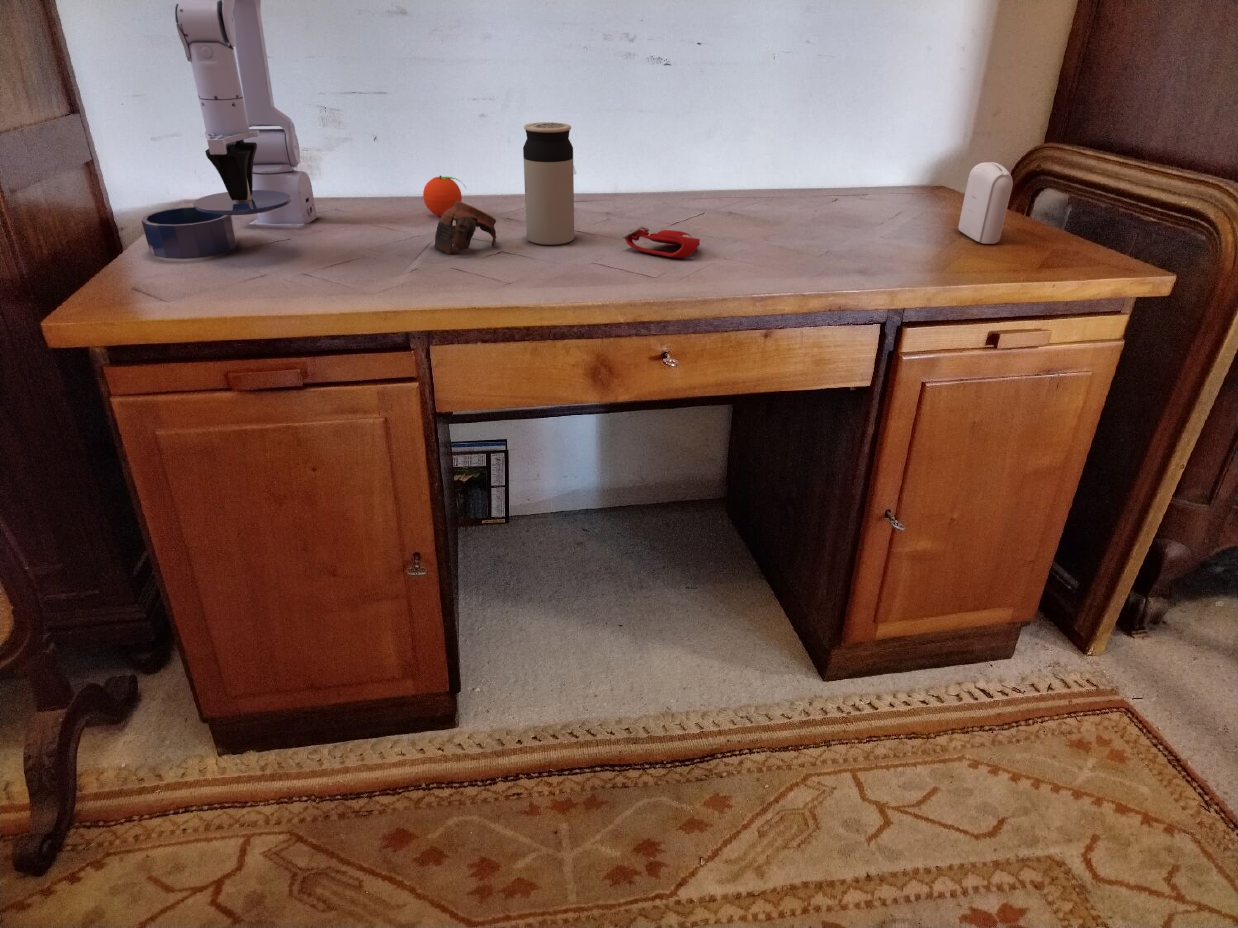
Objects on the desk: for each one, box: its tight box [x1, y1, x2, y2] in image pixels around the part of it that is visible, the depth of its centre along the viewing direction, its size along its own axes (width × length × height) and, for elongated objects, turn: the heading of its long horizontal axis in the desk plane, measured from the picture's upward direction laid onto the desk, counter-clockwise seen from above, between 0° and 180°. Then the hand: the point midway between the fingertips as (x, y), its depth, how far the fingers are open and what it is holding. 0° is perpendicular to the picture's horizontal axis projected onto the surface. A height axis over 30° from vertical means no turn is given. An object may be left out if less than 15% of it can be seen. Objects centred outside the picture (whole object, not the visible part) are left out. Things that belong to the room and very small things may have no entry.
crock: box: [141, 206, 238, 260], centre depth 129 cm, size 12×12×6 cm
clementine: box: [422, 175, 467, 217], centre depth 151 cm, size 8×7×7 cm
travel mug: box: [522, 121, 575, 246], centre depth 135 cm, size 8×8×18 cm
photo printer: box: [957, 161, 1014, 245], centre depth 142 cm, size 10×4×12 cm, turn 2°
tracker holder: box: [621, 225, 701, 259], centre depth 132 cm, size 12×4×10 cm
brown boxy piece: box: [433, 201, 497, 255], centre depth 132 cm, size 12×10×8 cm
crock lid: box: [192, 180, 291, 216], centre depth 122 cm, size 13×13×4 cm
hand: (242, 197), depth 122 cm, fingers closed on crock lid, 2 cm apart
